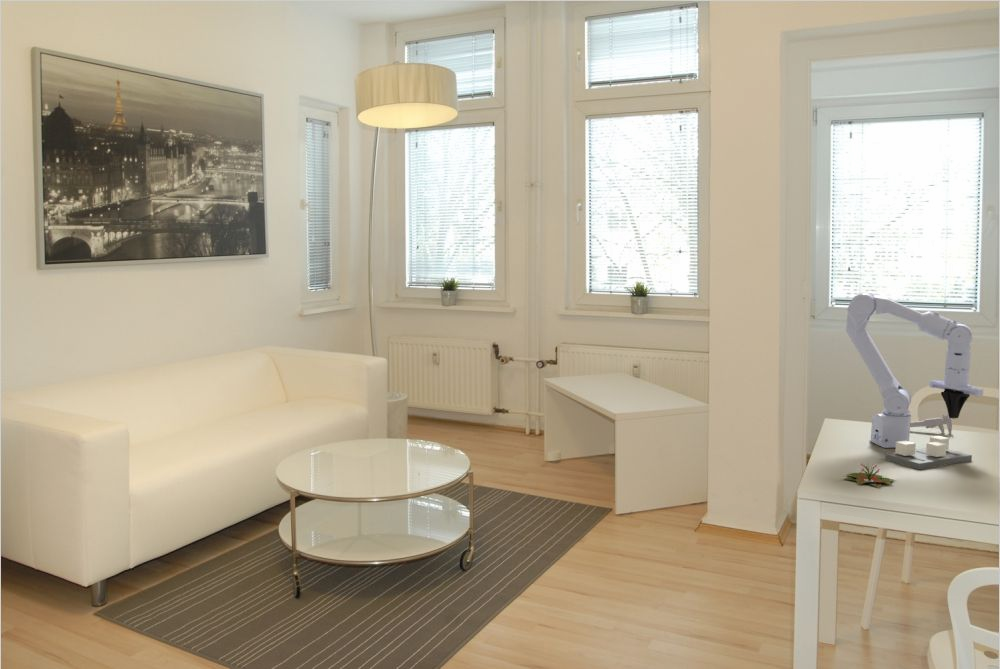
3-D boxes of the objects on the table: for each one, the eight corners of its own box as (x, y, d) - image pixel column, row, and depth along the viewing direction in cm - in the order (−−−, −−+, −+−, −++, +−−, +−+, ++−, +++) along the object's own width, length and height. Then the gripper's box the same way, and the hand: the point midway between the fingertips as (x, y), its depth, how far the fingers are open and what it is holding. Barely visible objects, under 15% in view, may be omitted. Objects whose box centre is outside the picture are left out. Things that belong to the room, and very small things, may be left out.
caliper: (950, 434, 249) (952, 413, 248) (951, 435, 248) (952, 414, 247) (876, 428, 255) (877, 408, 254) (876, 429, 254) (877, 409, 253)
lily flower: (905, 483, 200) (906, 464, 200) (882, 493, 192) (883, 474, 192) (857, 472, 209) (858, 454, 209) (832, 481, 202) (833, 462, 201)
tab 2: (936, 457, 215) (937, 445, 215) (925, 454, 218) (926, 443, 217) (945, 455, 217) (946, 444, 216) (935, 452, 219) (936, 441, 219)
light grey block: (905, 455, 216) (905, 444, 216) (895, 453, 219) (896, 441, 218) (914, 454, 217) (915, 443, 217) (904, 451, 220) (905, 440, 220)
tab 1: (939, 450, 221) (940, 439, 221) (929, 447, 224) (929, 437, 224) (948, 449, 223) (949, 438, 223) (938, 446, 226) (939, 435, 225)
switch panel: (918, 469, 210) (919, 463, 210) (885, 459, 219) (885, 453, 219) (971, 460, 219) (971, 454, 219) (937, 451, 228) (937, 445, 228)
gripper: (992, 371, 220) (988, 422, 222) (943, 363, 233) (939, 411, 235) (974, 373, 217) (970, 424, 219) (925, 365, 231) (922, 413, 232)
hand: (953, 417), depth 227 cm, fingers closed
